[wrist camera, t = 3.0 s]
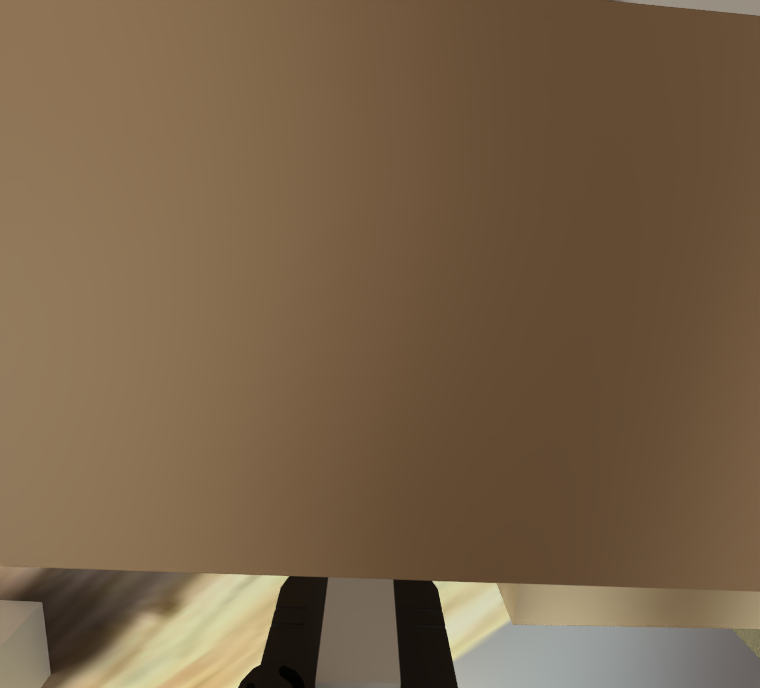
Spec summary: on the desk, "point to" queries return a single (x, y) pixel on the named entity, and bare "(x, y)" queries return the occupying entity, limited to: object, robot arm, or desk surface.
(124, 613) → the desk surface
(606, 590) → the bar
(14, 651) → the white cube
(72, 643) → the desk surface
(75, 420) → the lid
